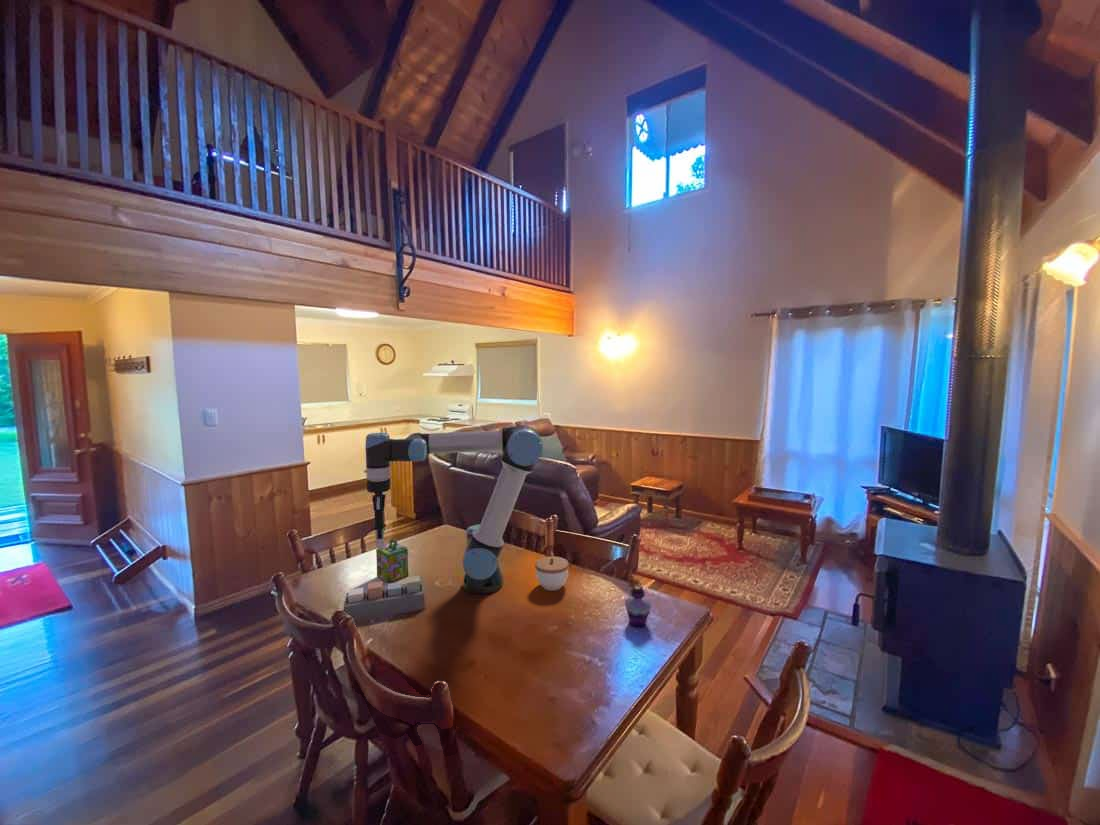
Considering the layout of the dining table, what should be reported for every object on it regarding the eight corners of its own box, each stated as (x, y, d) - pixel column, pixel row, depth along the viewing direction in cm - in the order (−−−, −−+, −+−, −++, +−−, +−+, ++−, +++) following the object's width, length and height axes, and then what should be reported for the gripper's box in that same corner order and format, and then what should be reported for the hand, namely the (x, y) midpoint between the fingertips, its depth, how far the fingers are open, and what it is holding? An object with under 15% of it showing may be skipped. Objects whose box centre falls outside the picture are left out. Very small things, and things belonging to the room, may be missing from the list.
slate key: (401, 596, 161) (401, 581, 161) (401, 602, 157) (401, 587, 157) (388, 598, 160) (387, 583, 160) (388, 604, 156) (387, 589, 155)
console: (423, 595, 167) (422, 581, 166) (424, 609, 157) (424, 593, 157) (347, 608, 159) (346, 592, 158) (344, 622, 149) (343, 606, 149)
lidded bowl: (569, 579, 178) (569, 551, 177) (567, 595, 166) (567, 565, 165) (537, 578, 179) (537, 550, 178) (533, 593, 167) (532, 564, 166)
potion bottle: (641, 613, 152) (641, 579, 151) (656, 627, 144) (657, 590, 143) (619, 619, 149) (619, 583, 148) (633, 633, 141) (633, 595, 140)
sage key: (419, 590, 163) (419, 575, 163) (420, 595, 159) (419, 581, 159) (407, 592, 162) (406, 577, 161) (407, 598, 158) (406, 583, 157)
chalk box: (376, 577, 183) (374, 541, 181) (397, 569, 189) (395, 534, 188) (388, 584, 176) (386, 546, 175) (409, 575, 183) (407, 540, 182)
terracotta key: (383, 596, 159) (382, 581, 159) (382, 602, 155) (381, 586, 155) (369, 598, 158) (368, 583, 158) (368, 604, 154) (367, 588, 153)
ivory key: (364, 602, 158) (363, 587, 157) (363, 608, 153) (362, 593, 153) (350, 604, 156) (349, 589, 156) (349, 611, 152) (348, 595, 152)
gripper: (367, 475, 159) (369, 541, 161) (364, 484, 146) (366, 555, 148) (390, 474, 161) (392, 539, 163) (389, 482, 149) (391, 552, 151)
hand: (380, 546), depth 156 cm, fingers closed
